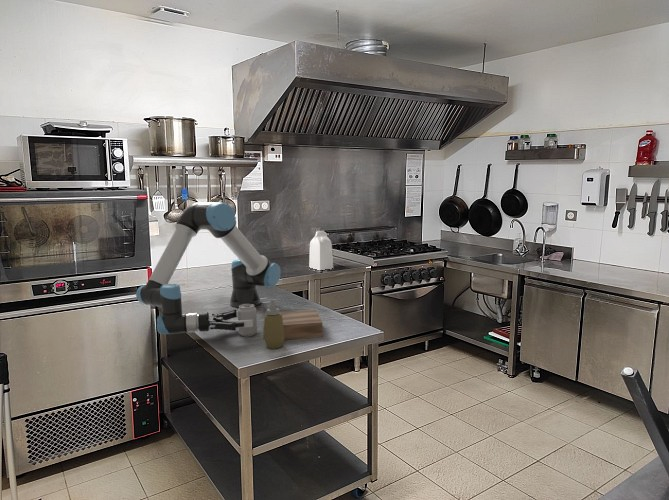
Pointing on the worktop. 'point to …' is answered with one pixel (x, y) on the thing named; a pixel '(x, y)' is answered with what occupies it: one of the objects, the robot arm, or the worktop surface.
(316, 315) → the walnut block
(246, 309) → the can
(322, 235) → the milk
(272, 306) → the squeeze bottle
